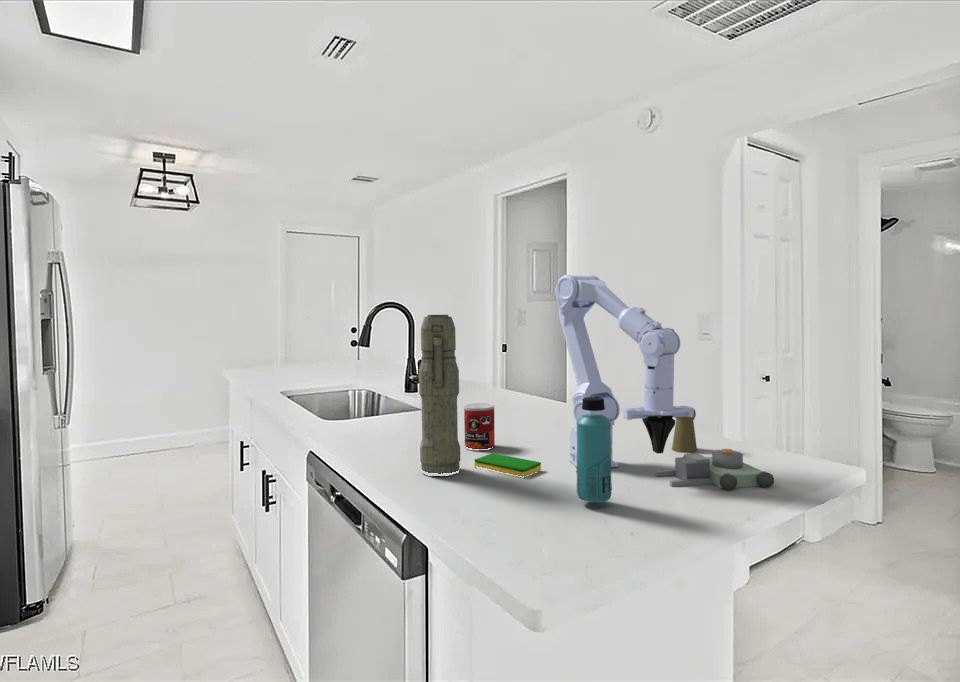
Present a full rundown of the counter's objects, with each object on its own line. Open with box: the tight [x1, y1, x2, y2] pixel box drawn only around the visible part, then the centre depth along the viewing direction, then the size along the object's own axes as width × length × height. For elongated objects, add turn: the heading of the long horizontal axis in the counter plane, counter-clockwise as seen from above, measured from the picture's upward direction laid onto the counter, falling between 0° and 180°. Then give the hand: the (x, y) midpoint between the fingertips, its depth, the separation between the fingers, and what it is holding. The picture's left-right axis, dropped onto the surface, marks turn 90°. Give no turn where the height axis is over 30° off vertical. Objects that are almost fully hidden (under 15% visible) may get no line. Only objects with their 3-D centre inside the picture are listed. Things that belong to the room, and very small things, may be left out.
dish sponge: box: [474, 452, 542, 477], centre depth 134 cm, size 7×14×2 cm, turn 51°
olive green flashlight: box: [418, 314, 461, 474], centre depth 132 cm, size 9×12×35 cm
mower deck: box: [654, 448, 775, 491], centre depth 125 cm, size 20×17×6 cm
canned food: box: [463, 402, 496, 449], centre depth 154 cm, size 8×8×11 cm
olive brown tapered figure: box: [671, 408, 698, 454], centre depth 149 cm, size 6×6×11 cm
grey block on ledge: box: [674, 452, 710, 480], centre depth 125 cm, size 5×5×5 cm
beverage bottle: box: [575, 397, 613, 503], centre depth 109 cm, size 6×7×20 cm
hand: (658, 452), depth 123 cm, fingers closed
